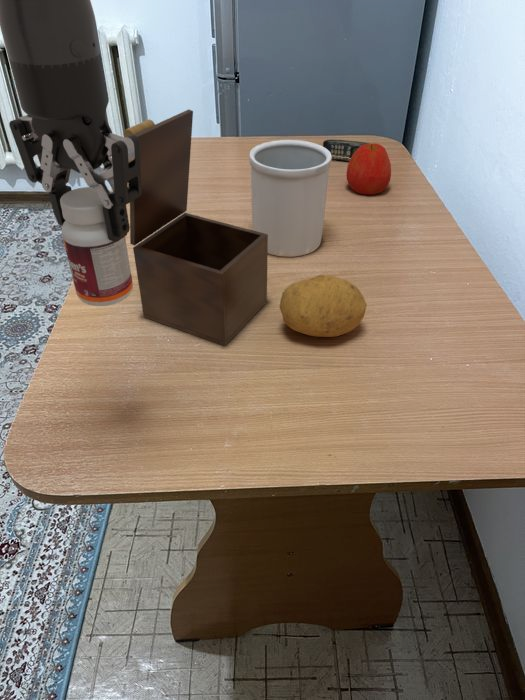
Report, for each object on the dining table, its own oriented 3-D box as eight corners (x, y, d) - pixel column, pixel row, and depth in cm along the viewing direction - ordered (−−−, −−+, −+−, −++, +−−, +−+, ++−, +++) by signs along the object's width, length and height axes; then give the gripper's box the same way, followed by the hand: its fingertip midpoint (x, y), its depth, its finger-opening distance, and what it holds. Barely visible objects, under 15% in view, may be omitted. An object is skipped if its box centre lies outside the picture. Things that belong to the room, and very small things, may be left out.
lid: (193, 110, 82) (163, 99, 83) (133, 138, 73) (101, 125, 74) (186, 210, 93) (160, 199, 94) (134, 245, 84) (106, 232, 85)
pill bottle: (67, 291, 63) (42, 195, 56) (116, 271, 66) (98, 178, 59) (94, 315, 60) (71, 217, 52) (144, 294, 63) (129, 198, 55)
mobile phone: (322, 141, 144) (381, 145, 141) (324, 137, 146) (383, 141, 143) (321, 160, 147) (379, 165, 144) (323, 156, 150) (380, 161, 146)
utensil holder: (329, 258, 107) (337, 168, 96) (251, 260, 107) (250, 169, 96) (319, 223, 119) (325, 139, 108) (248, 224, 118) (248, 139, 107)
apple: (364, 176, 138) (369, 133, 132) (398, 189, 133) (405, 144, 126) (336, 188, 133) (340, 143, 126) (370, 202, 127) (376, 155, 121)
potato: (373, 300, 80) (364, 261, 87) (279, 304, 80) (277, 265, 87) (368, 348, 87) (360, 308, 93) (281, 351, 87) (279, 311, 94)
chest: (267, 302, 96) (268, 234, 88) (225, 346, 86) (221, 274, 78) (190, 278, 101) (184, 212, 93) (143, 317, 92) (132, 247, 84)
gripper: (150, 50, 47) (171, 231, 58) (26, 33, 53) (66, 202, 63) (89, 70, 42) (124, 265, 53) (-42, 49, 47) (14, 229, 58)
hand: (92, 230), depth 58 cm, fingers closed on pill bottle, 6 cm apart
